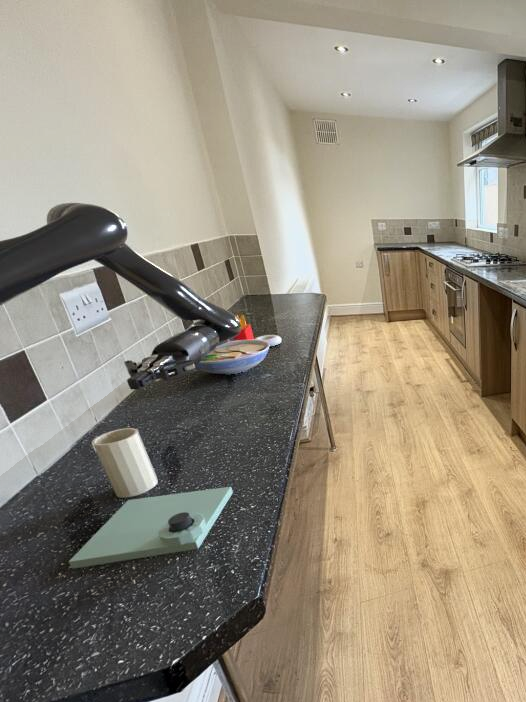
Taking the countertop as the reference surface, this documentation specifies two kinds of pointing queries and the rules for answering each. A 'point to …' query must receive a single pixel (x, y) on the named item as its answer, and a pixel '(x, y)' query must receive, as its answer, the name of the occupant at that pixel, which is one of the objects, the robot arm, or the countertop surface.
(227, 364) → the ramen bowl
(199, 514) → the scale
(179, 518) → the button
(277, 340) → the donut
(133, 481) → the cup
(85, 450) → the countertop surface
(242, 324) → the french fries container
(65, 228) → the robot arm
